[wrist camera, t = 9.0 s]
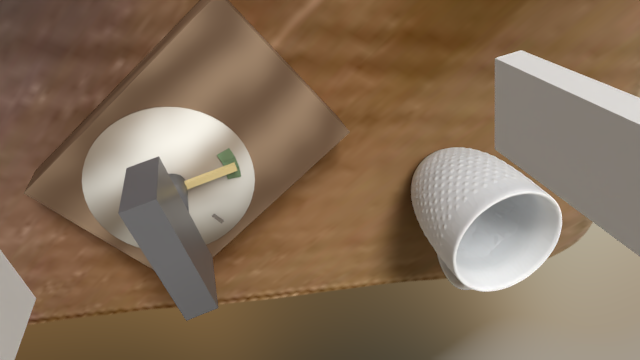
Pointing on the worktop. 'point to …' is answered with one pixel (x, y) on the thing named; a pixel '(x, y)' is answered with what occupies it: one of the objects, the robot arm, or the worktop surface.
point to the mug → (483, 218)
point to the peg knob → (171, 232)
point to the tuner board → (194, 131)
